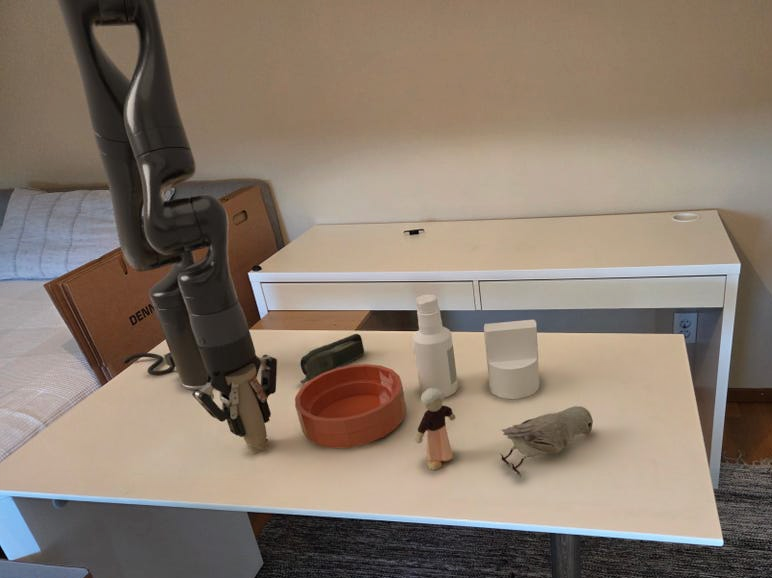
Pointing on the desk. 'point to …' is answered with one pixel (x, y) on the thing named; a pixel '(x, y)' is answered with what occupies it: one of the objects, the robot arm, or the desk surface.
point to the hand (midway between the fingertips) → (252, 427)
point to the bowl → (351, 405)
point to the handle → (249, 409)
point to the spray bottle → (434, 349)
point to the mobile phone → (331, 356)
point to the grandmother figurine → (435, 428)
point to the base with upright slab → (512, 358)
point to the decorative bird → (548, 433)
